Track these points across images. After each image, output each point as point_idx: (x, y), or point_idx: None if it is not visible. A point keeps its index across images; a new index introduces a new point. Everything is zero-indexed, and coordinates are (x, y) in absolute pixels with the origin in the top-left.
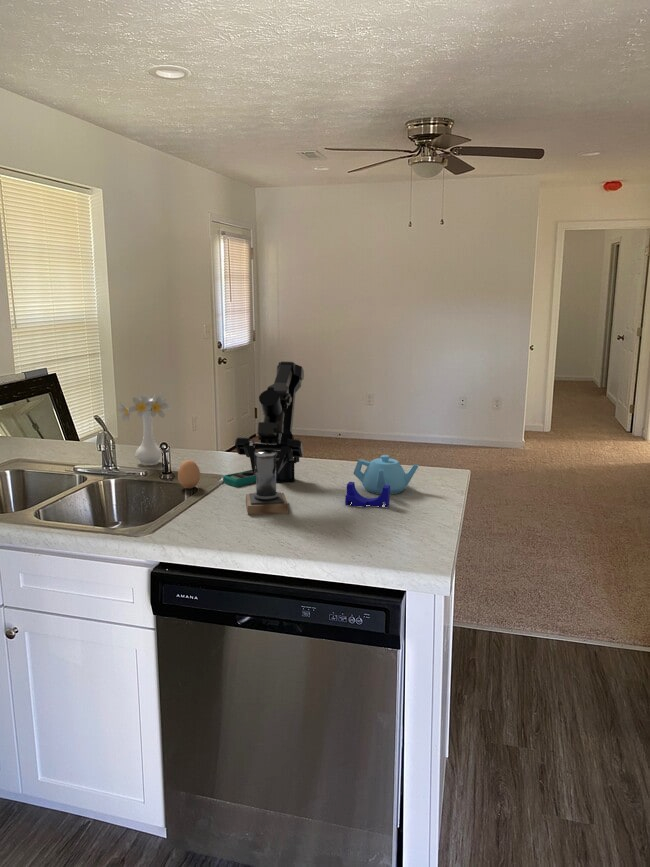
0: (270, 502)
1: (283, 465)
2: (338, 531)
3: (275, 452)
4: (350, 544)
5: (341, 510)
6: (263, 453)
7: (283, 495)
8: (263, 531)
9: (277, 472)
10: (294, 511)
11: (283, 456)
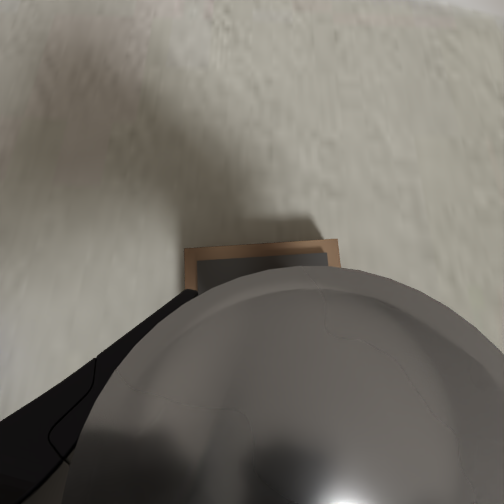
0: (250, 257)
1: None
2: (67, 93)
3: (101, 448)
4: (59, 10)
5: (10, 273)
6: (366, 357)
7: None
8: (274, 102)
9: (187, 289)
10: (169, 271)
11: (19, 425)
